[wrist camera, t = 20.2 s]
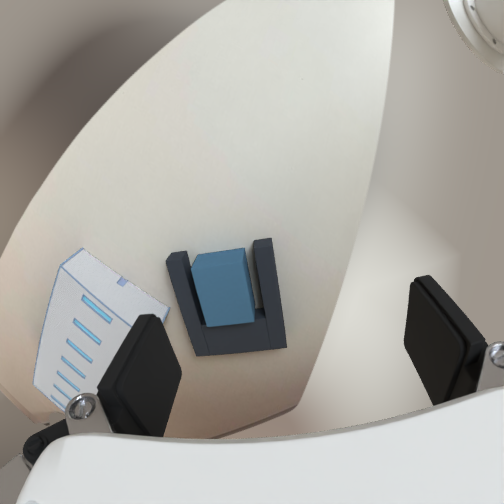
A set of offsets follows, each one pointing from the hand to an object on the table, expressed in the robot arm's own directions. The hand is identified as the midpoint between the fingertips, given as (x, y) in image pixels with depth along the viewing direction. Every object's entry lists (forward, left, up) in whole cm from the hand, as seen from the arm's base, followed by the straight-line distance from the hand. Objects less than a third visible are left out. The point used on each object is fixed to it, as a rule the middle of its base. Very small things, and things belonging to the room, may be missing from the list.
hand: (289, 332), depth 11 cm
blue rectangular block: (+7, +9, -24) cm, 27 cm away
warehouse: (+31, +18, -24) cm, 43 cm away
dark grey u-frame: (+7, +12, -24) cm, 27 cm away
